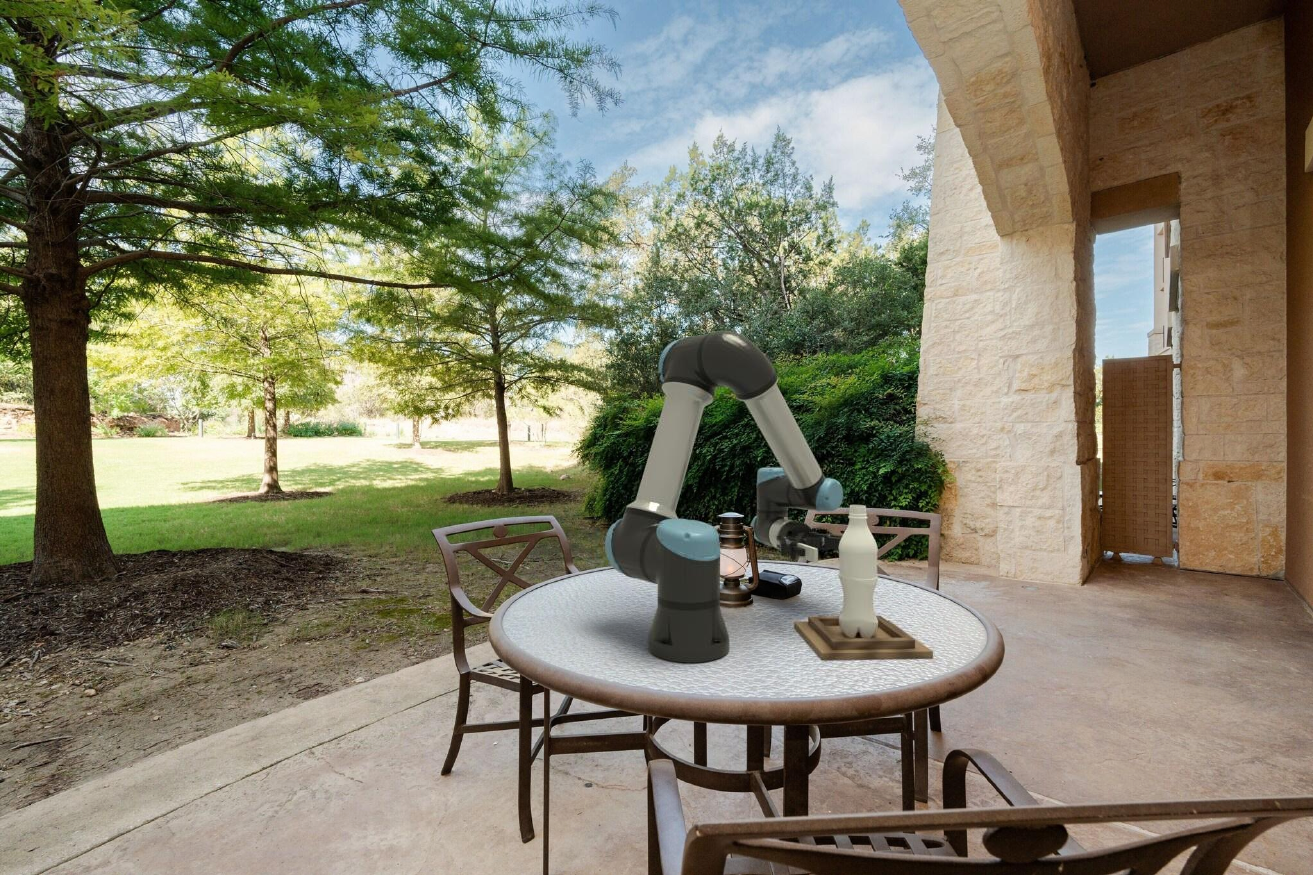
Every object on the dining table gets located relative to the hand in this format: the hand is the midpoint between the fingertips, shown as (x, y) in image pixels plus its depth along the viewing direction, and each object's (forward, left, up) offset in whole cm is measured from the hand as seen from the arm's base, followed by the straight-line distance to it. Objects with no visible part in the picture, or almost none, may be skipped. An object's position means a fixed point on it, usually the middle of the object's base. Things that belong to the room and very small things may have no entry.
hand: (846, 553), depth 116 cm
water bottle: (+1, -3, -15) cm, 16 cm away
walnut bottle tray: (+1, -3, -16) cm, 17 cm away
